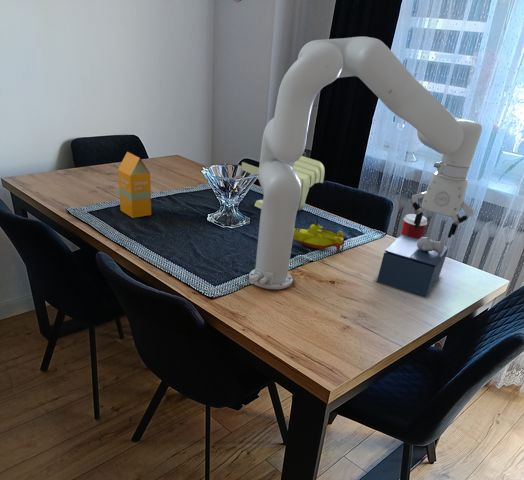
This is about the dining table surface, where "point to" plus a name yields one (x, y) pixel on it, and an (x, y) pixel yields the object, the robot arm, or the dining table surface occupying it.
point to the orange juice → (134, 187)
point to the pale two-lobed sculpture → (430, 245)
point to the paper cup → (413, 226)
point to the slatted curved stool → (306, 172)
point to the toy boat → (319, 237)
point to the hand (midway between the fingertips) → (433, 231)
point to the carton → (412, 271)
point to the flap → (403, 246)
